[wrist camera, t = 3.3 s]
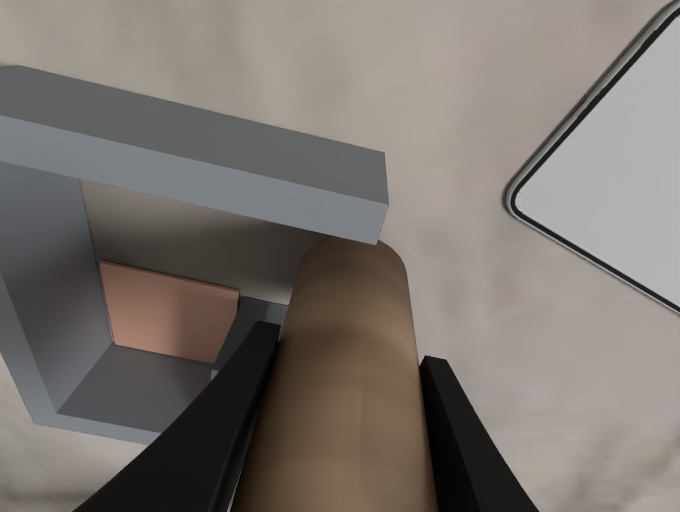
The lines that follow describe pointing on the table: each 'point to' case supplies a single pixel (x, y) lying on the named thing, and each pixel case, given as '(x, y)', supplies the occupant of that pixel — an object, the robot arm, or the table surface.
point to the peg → (342, 394)
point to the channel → (133, 283)
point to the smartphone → (618, 170)
